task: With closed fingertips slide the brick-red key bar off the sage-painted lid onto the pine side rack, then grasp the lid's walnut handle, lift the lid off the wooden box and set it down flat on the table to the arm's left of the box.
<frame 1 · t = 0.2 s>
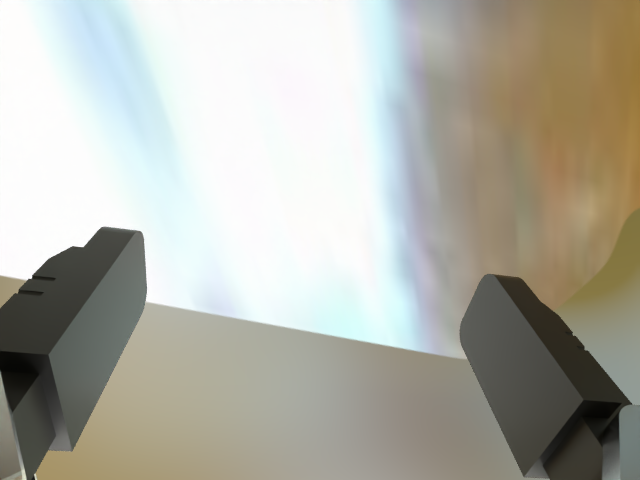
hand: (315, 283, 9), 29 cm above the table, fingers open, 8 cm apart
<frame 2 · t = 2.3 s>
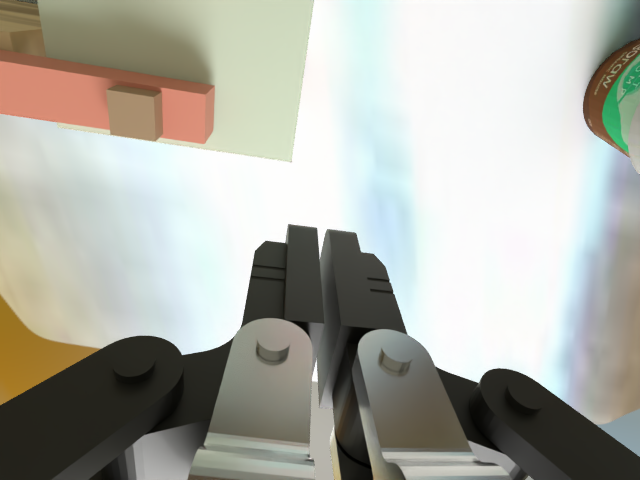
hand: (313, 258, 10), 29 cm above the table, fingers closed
key bar: (80, 97, 19), point 17 cm above the table, slide at 0.0 cm
food container: (610, 79, 37), on the table
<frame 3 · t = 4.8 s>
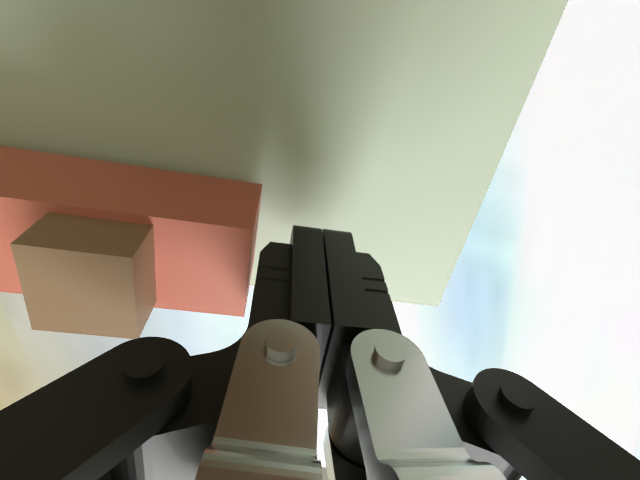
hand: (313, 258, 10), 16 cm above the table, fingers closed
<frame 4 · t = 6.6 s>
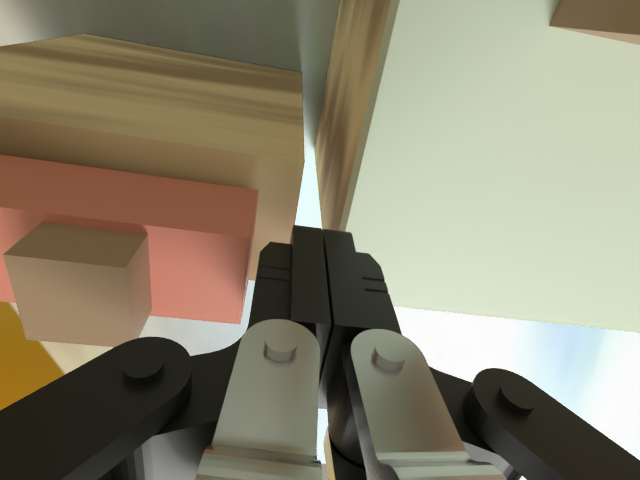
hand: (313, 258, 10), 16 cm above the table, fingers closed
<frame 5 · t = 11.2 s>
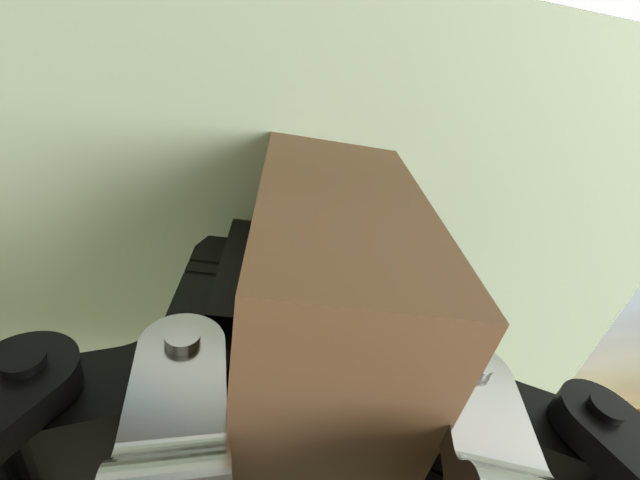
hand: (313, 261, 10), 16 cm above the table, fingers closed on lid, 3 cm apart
lid: (313, 230, 12), point 14 cm above the table, touching gripper, wooden box
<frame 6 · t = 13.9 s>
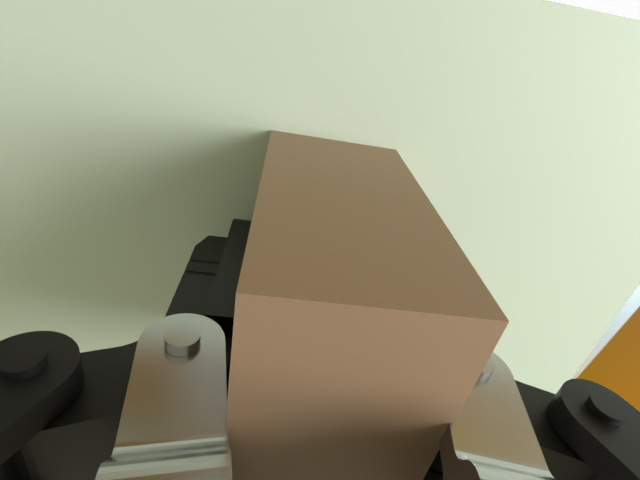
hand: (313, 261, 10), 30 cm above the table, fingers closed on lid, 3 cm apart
lid: (313, 229, 12), point 28 cm above the table, touching gripper
when the fingers open (4 cm above the table, at t = 17.0 s): lid drops 2 cm, on the table.
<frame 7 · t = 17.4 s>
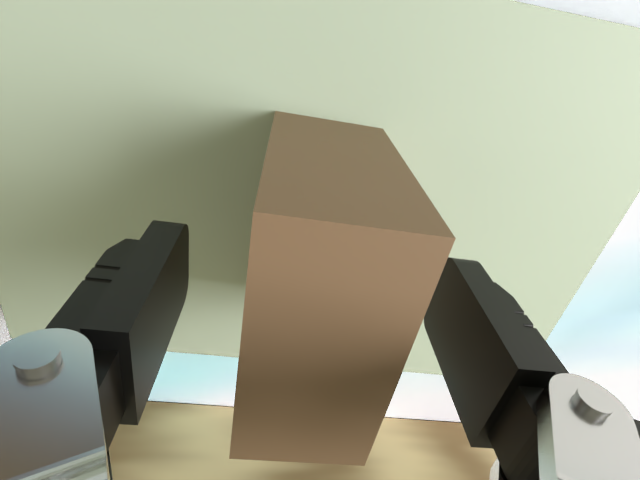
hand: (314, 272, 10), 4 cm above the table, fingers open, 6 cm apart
lid: (311, 202, 13), on the table
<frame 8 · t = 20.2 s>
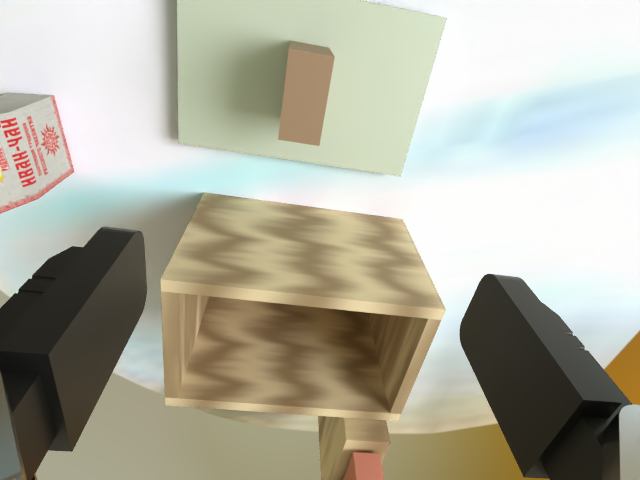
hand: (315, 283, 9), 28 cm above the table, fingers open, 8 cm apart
tea box: (43, 133, 35), on the table
lid: (304, 82, 33), on the table
wooden box: (297, 260, 43), on the table
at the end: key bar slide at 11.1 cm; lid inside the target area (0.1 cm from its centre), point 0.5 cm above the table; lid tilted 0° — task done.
